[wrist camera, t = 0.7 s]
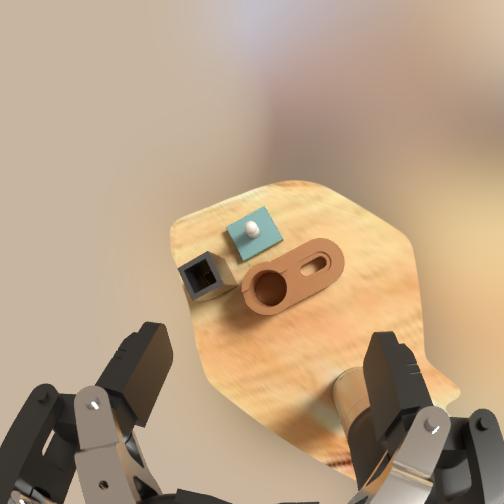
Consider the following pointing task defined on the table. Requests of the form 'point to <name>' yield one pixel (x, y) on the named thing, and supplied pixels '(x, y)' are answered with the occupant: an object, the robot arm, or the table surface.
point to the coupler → (197, 281)
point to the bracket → (295, 274)
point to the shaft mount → (254, 233)
